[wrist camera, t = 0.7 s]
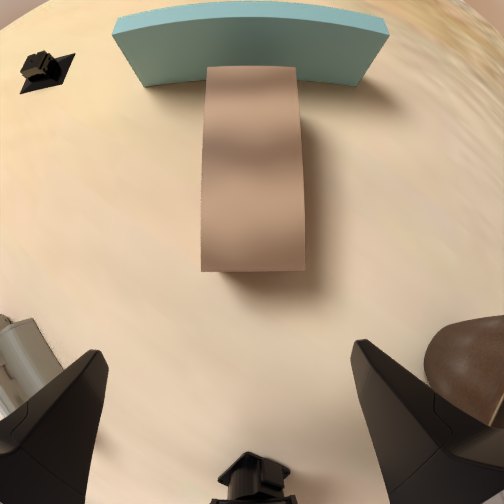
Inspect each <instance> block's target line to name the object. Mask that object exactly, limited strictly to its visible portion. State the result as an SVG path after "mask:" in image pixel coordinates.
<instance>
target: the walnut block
mask: <svg viewBox="0 0 504 504" xmlns="http://www.w3.org/2000/svg"><path fill="white" fill-rule="evenodd" d="M257 271H305V209H304V181H303V160H302V142H301V127H300V113H299V101H298V89H297V79H296V69H295V67H283V66H219V67H207V79H206V93H205V108H204V126H203V149H202V180H201V272H257Z"/></svg>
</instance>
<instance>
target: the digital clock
mask: <svg viewBox="0 0 504 504" xmlns="http://www.w3.org/2000/svg"><path fill="white" fill-rule="evenodd" d="M62 371H64V370H63V369H62V367H61V366H60V364H59V363H58V361H57V360H56V358H55V357H54V355H53V353H52V352H51V350H50V349H49V347H48V345H47V344H46V342H45V340H44V338H43V337H42V335H41V333H40V331H39V330H38V328H37V326H36V324H35V322H34V320H33V319H32V318H29V319H26V320H22V321H19V322H16V323H13V324H10V322H9V321H8V319H7V317H6V316H5V315H2V314H0V412H1V414H2V415H3V417H4V418H5V417H7V416H8V415H9V414H11V413H12V412H13V411H15V410H16V409H17V408H18V407H20V406H21V405H22V404H23V403H25V402H26V401H27V400H29V398H31V397H32V396H33V395H34V394H35V393H37V392H38V391H39V390H40V389H42V388H43V387H44V386H45V385H46V384H48V383H49V382H50V381H51V380H53V379H54V378H55V377H56V376H57V375H59V374H60V373H61V372H62Z"/></svg>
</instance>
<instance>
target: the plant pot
mask: <svg viewBox="0 0 504 504" xmlns="http://www.w3.org/2000/svg"><path fill="white" fill-rule="evenodd" d="M424 369H425V372H426V375H427V378H428V380H429V383H430V386H431V388H432V389H433V390H434V391H435V392H437V393H438V394H440V395H441V396H442V397H443V398H445V399H446V400H448V401H449V402H450V403H452V404H453V405H455V406H456V407H458V408H460V409H461V410H463V411H464V412H466V413H468V414H469V415H471V416H473V417H474V418H476V419H478V420H479V421H481V422H483V423H485V424H486V425H488V426H490V427H493V428H497V429H504V315H501V316H492V317H484V318H478V319H473V320H467V321H463V322H459V323H455V324H451V325H448V326H446V327H444V328H442V329H441V330H440V331H439V332H438V333H437V334H436V335H435V336H434V338H433V339H432V341H431V342H430V344H429V346H428V348H427V351H426V354H425V359H424Z"/></svg>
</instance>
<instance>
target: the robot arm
mask: <svg viewBox="0 0 504 504" xmlns="http://www.w3.org/2000/svg"><path fill="white" fill-rule="evenodd" d="M351 366H352V370H353V375H354V379H355V384H356V389H357V394H358V398H359V402H360V405H361V408H362V411H363V414H364V417H365V420H366V423H367V426H368V429H369V432H370V436H371V439H372V442H373V445H374V448H375V452H376V455H377V458H378V462H379V465H380V468H381V472H382V475H383V479H384V482H385V486H386V489H387V493H388V497H389V501H390V504H504V429H497V428H493V427H490V426H488V425H486V424H485V423H483V422H481V421H479V420H478V419H476V418H474V417H473V416H471V415H469V414H468V413H466V412H464V411H463V410H461V409H460V408H458V407H456V406H455V405H453V404H452V403H450V402H449V401H448V400H446V399H445V398H443V397H442V396H441V395H440V394H438V393H437V392H435V391H434V390H433V389H432V388H430V387H429V386H428V385H426V384H425V383H424V382H422V381H421V380H420V379H418V378H417V377H416V376H414V375H413V374H412V373H411V372H409V371H408V370H407V369H405V368H404V367H403V366H401V365H400V364H399V363H397V362H396V361H395V360H393V359H392V358H391V357H390V356H388V355H387V354H386V353H384V352H383V351H382V350H380V349H379V348H378V347H376V346H375V345H374V344H372V343H371V342H370V341H369V340H367V339H361V340H356V341H355V342H354V345H353V350H352V354H351ZM108 371H109V368H108V364H107V362H106V360H105V358H104V356H103V354H102V352H101V351H100V350H93V349H91V350H89V351H87V352H86V353H85V354H84V355H82V356H81V357H80V358H79V359H77V360H76V361H75V362H74V363H72V364H71V365H70V366H69V367H67V368H66V369H65V370H64V371H62V372H61V373H60V374H59V375H57V376H56V377H55V378H54V379H53V380H51V381H50V382H49V383H48V384H46V385H45V386H44V387H43V388H42V389H40V390H39V391H38V392H37V393H35V394H34V395H33V396H32V397H31V398H29V400H27V401H26V402H25V403H23V404H22V405H21V406H20V407H18V408H17V409H16V410H15V411H13V412H12V413H11V414H9V415H8V416H7V417H5V418H4V419H2V420H1V421H0V504H85V496H86V489H87V483H88V476H89V470H90V465H91V459H92V454H93V449H94V444H95V439H96V435H97V430H98V426H99V421H100V417H101V413H102V409H103V404H104V398H105V391H106V384H107V378H108ZM247 455H248V456H247ZM289 474H290V469H288V468H285V467H283V466H281V465H279V464H276V463H274V462H272V461H269V460H267V459H265V458H261V457H259V456H257V455H255V454H252V453H250V452H245V453H244V454H243V455H242V456H241V457H239V458H238V459H237V460H236V461H235V462H234V463H233V464H232V465H231V466H230V467H229V468H228V469H227V470H226V471H225V472H224V473H223V474H222V475H221V476H220V477H218V482H219V483H221V484H223V485H226V486H228V498H227V500H218V499H212V501H211V503H210V504H298V503H297V500H296V497H295V495H290V496H288V497H284V492H283V489H284V479H285V478H286V477H287V476H288V475H289Z"/></svg>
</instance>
